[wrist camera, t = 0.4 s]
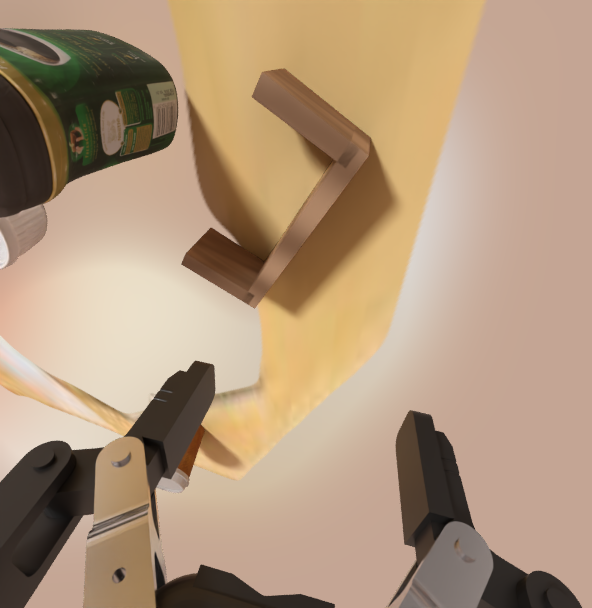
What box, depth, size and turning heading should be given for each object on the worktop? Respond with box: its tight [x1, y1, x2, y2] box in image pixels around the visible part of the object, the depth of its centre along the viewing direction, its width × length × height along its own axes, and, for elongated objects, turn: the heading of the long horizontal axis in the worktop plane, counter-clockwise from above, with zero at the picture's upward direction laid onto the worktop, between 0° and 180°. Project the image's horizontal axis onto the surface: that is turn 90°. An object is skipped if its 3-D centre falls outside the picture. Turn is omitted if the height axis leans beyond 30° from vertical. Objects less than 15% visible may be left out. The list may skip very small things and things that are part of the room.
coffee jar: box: [0, 28, 178, 218], centre depth 21 cm, size 10×8×19 cm
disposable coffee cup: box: [157, 425, 204, 493], centre depth 64 cm, size 10×10×12 cm
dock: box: [182, 69, 371, 308], centre depth 29 cm, size 19×9×6 cm, turn 148°
